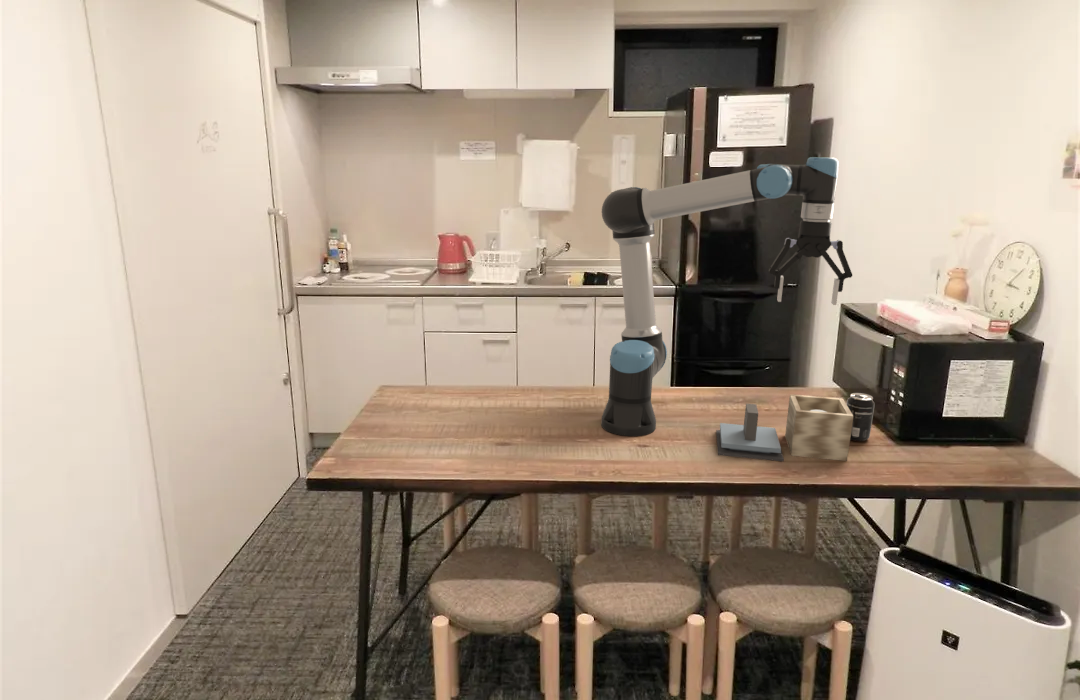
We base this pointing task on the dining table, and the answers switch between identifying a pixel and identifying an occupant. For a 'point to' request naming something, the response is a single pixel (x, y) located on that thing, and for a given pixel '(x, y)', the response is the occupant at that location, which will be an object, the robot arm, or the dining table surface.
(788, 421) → the box
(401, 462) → the dining table surface
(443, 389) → the dining table surface
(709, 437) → the dining table surface
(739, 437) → the lid
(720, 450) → the mat
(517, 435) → the dining table surface
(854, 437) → the beverage can
